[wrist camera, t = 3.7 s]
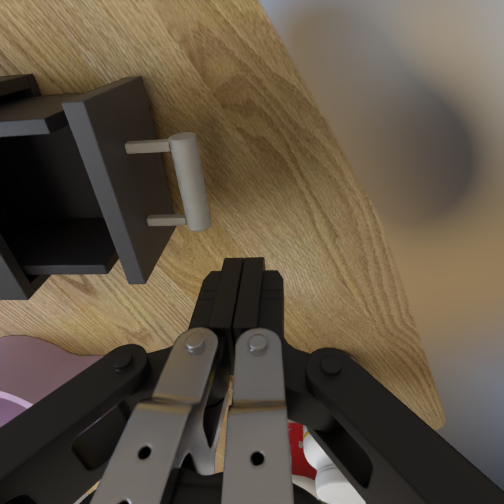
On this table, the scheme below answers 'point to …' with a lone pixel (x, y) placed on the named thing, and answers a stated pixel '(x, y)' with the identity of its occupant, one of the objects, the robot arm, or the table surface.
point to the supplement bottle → (328, 475)
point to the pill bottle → (300, 460)
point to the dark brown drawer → (93, 182)
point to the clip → (33, 372)
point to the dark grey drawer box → (3, 261)
